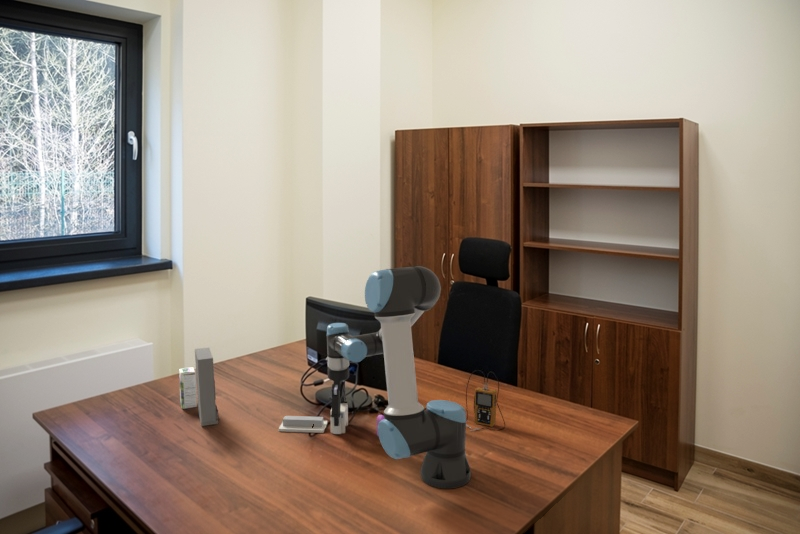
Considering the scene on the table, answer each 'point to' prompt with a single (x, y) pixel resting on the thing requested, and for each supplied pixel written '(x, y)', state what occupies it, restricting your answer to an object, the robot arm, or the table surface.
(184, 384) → the syrup box
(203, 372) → the tall grey upright slab
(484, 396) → the multimeter
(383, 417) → the bracket
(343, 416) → the module
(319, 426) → the rail base
